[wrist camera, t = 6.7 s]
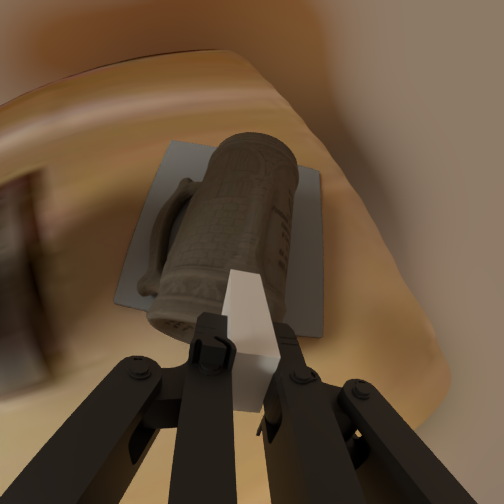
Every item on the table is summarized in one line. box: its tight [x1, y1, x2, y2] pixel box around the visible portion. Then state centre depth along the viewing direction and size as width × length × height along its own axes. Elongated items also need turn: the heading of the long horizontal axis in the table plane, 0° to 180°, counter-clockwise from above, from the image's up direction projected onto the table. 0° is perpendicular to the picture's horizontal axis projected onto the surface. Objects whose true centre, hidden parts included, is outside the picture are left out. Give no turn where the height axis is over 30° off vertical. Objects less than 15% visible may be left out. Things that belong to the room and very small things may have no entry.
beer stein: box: [137, 132, 299, 344], centre depth 26 cm, size 15×11×20 cm
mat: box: [113, 140, 324, 338], centre depth 32 cm, size 24×22×1 cm
